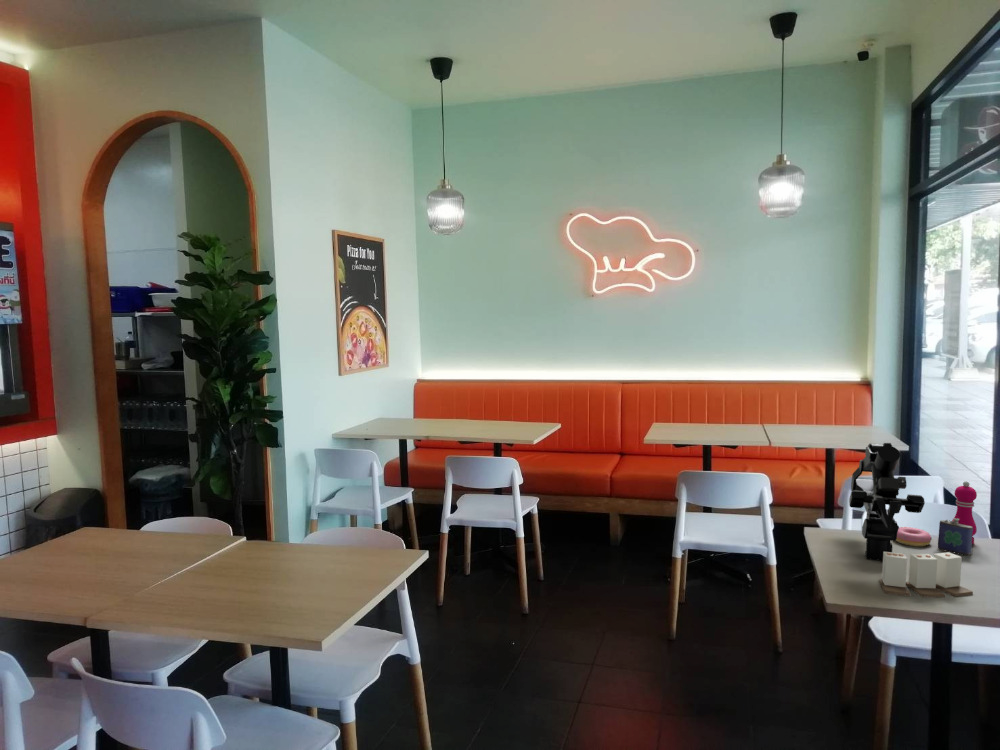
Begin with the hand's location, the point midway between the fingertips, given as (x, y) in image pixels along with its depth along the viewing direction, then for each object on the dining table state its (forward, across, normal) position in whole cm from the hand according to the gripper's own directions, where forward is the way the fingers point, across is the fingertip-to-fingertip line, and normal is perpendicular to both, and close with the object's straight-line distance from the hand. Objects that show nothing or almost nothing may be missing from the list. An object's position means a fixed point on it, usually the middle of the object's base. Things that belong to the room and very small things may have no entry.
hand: (888, 527), depth 202 cm
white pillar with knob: (+14, +13, +5) cm, 20 cm away
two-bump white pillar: (+16, +7, +3) cm, 18 cm away
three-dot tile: (+17, 0, +2) cm, 17 cm away
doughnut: (-14, +13, +34) cm, 39 cm away
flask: (-10, +24, +29) cm, 39 cm away
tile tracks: (+16, +8, +3) cm, 18 cm away
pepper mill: (-18, +29, +37) cm, 50 cm away
